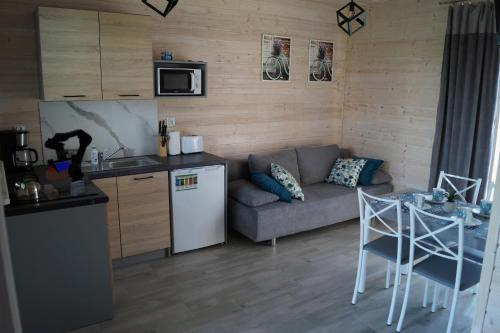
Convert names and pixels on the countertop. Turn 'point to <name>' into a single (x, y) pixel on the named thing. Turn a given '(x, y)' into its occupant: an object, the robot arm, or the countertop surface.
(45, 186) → the terracotta block
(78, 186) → the medicine box
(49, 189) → the dark grey cylinder
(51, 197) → the walnut block
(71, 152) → the candy bar box
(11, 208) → the countertop surface
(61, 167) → the house
